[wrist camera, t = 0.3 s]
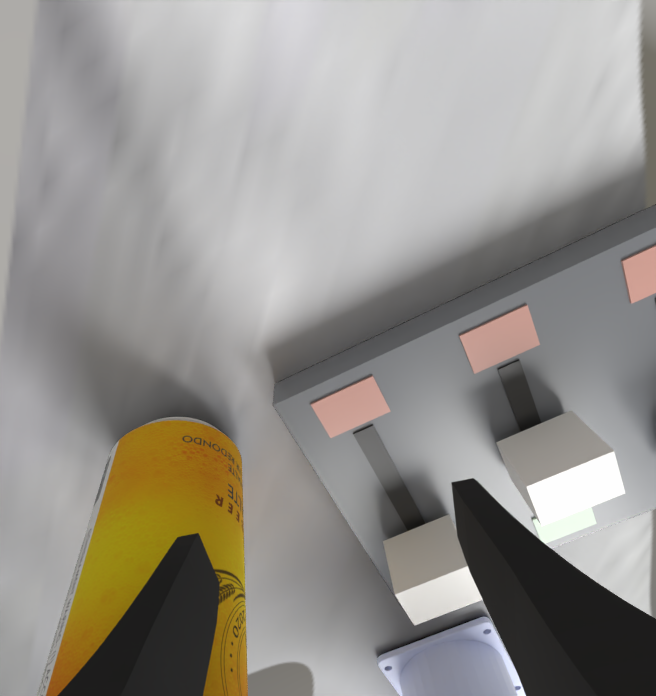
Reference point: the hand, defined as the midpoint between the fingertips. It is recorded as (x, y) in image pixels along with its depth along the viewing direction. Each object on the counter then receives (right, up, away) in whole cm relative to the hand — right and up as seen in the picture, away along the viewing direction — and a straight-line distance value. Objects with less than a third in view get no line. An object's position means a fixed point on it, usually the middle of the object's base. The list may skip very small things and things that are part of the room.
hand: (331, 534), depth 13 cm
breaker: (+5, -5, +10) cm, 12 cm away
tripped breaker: (+10, +1, +8) cm, 13 cm away
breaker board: (+10, +2, +11) cm, 14 cm away
